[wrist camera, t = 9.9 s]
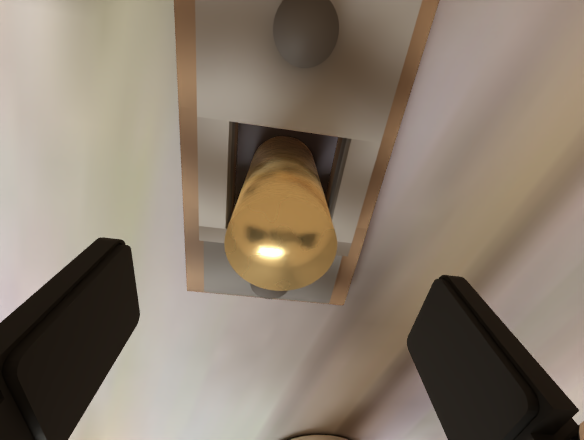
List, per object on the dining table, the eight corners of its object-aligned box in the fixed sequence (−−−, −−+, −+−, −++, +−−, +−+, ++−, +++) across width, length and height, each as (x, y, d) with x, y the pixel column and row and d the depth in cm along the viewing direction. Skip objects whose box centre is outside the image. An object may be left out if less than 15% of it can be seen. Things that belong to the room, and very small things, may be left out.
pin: (309, 200, 19) (325, 295, 11) (249, 192, 19) (222, 285, 11) (320, 141, 17) (348, 204, 9) (254, 131, 17) (225, 189, 9)
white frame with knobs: (341, 294, 23) (350, 335, 20) (191, 280, 22) (174, 320, 19) (433, -13, 14) (483, -40, 10) (180, -62, 13) (139, -111, 9)
